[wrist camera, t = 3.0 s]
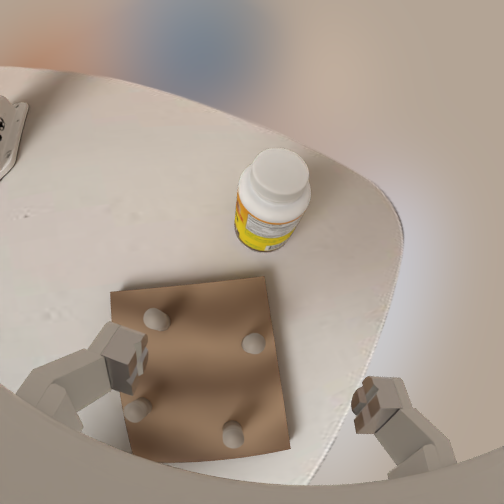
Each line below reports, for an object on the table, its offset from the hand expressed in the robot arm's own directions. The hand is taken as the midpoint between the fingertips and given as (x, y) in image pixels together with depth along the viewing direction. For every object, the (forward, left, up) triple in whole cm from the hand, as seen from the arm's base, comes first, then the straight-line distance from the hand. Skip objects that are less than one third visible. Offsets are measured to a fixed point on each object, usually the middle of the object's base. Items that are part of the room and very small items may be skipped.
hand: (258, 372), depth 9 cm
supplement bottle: (-12, +4, -16) cm, 20 cm away
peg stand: (+1, -4, -15) cm, 16 cm away
